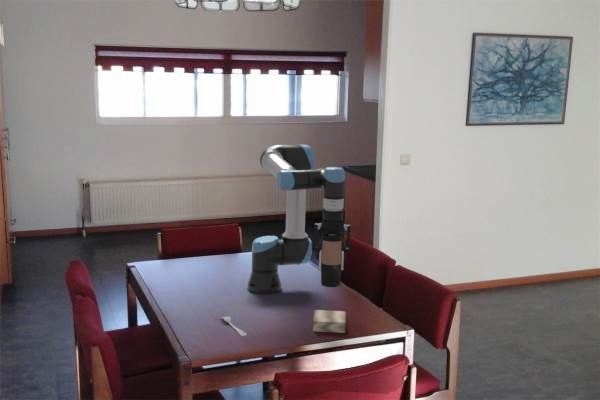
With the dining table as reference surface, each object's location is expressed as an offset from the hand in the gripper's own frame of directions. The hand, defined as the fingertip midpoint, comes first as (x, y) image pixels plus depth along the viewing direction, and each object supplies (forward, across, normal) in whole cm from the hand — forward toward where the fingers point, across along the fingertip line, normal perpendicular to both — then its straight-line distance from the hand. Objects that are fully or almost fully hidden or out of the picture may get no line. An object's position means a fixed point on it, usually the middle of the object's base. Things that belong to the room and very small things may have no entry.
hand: (331, 268), depth 238 cm
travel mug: (+6, 0, 0) cm, 6 cm away
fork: (+23, -37, -5) cm, 44 cm away
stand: (+23, 0, 0) cm, 23 cm away
